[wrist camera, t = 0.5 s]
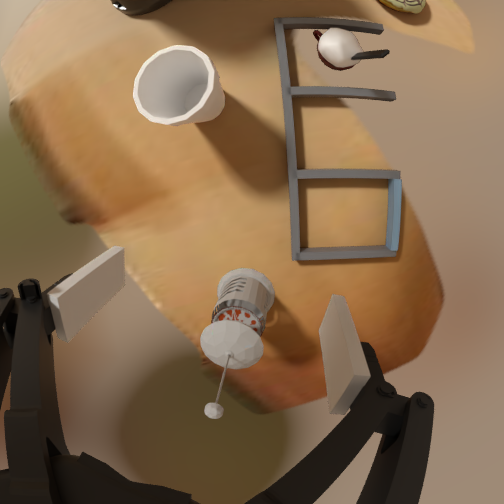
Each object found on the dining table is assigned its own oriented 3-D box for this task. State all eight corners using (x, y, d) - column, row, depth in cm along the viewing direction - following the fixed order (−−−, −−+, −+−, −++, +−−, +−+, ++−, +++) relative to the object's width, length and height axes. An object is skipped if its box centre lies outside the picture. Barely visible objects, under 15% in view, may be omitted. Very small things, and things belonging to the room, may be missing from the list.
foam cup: (243, 80, 34) (226, 50, 22) (225, 137, 37) (199, 131, 25) (185, 70, 34) (147, 43, 22) (168, 124, 37) (123, 117, 25)
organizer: (274, 23, 30) (273, 16, 28) (378, 28, 28) (383, 23, 26) (291, 255, 43) (292, 261, 40) (391, 252, 40) (397, 257, 38)
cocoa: (305, 41, 31) (306, 2, 20) (341, 31, 29) (353, -8, 18) (333, 92, 33) (347, 66, 22) (370, 81, 32) (395, 54, 20)
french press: (287, 291, 45) (285, 417, 22) (245, 333, 49) (218, 452, 26) (239, 256, 44) (192, 367, 20) (201, 303, 48) (144, 414, 24)
